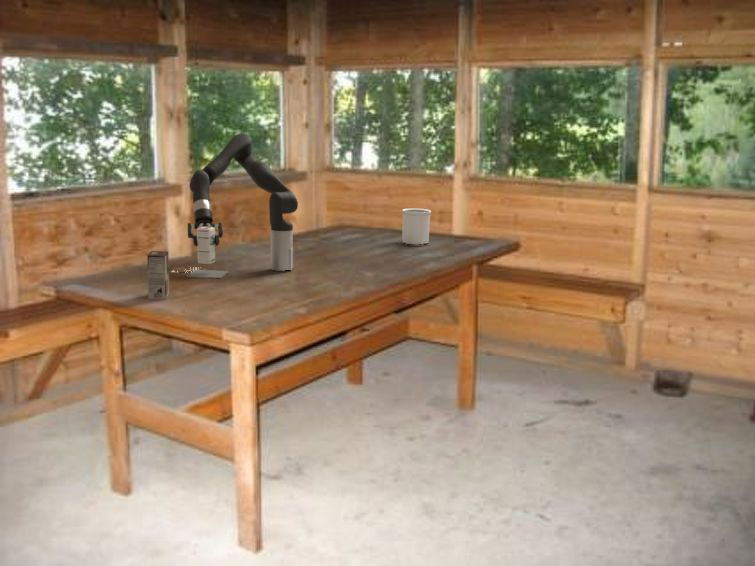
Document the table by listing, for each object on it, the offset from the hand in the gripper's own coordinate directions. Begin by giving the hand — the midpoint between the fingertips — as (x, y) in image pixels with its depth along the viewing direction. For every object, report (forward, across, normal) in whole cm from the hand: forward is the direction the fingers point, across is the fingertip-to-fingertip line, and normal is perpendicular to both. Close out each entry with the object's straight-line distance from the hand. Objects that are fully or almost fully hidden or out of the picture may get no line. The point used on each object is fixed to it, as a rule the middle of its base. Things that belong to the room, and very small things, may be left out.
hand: (206, 245), depth 355 cm
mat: (+8, 0, -9) cm, 12 cm away
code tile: (+1, +6, -17) cm, 18 cm away
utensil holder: (-37, -117, -56) cm, 135 cm away
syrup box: (+4, 0, -6) cm, 8 cm away
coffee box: (+35, +22, +18) cm, 45 cm away
